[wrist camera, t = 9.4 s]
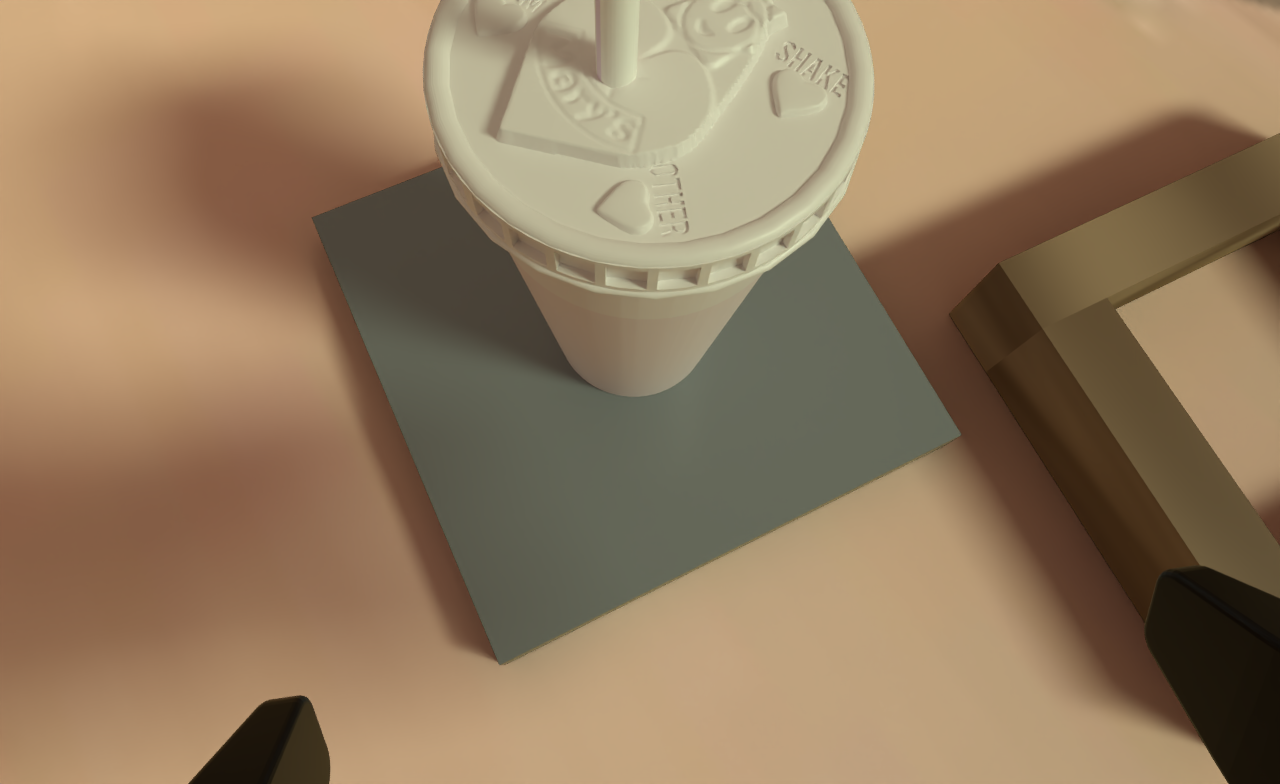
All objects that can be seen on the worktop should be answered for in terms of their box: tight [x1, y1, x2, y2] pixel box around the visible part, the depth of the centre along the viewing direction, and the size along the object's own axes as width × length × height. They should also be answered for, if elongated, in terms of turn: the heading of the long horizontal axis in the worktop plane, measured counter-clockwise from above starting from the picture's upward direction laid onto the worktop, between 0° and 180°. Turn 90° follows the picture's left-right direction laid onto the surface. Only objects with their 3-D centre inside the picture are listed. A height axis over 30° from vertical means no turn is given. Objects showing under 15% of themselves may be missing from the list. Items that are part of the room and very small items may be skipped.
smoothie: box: [423, 0, 874, 397], centre depth 14 cm, size 6×6×14 cm
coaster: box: [312, 167, 961, 665], centre depth 21 cm, size 12×12×1 cm
